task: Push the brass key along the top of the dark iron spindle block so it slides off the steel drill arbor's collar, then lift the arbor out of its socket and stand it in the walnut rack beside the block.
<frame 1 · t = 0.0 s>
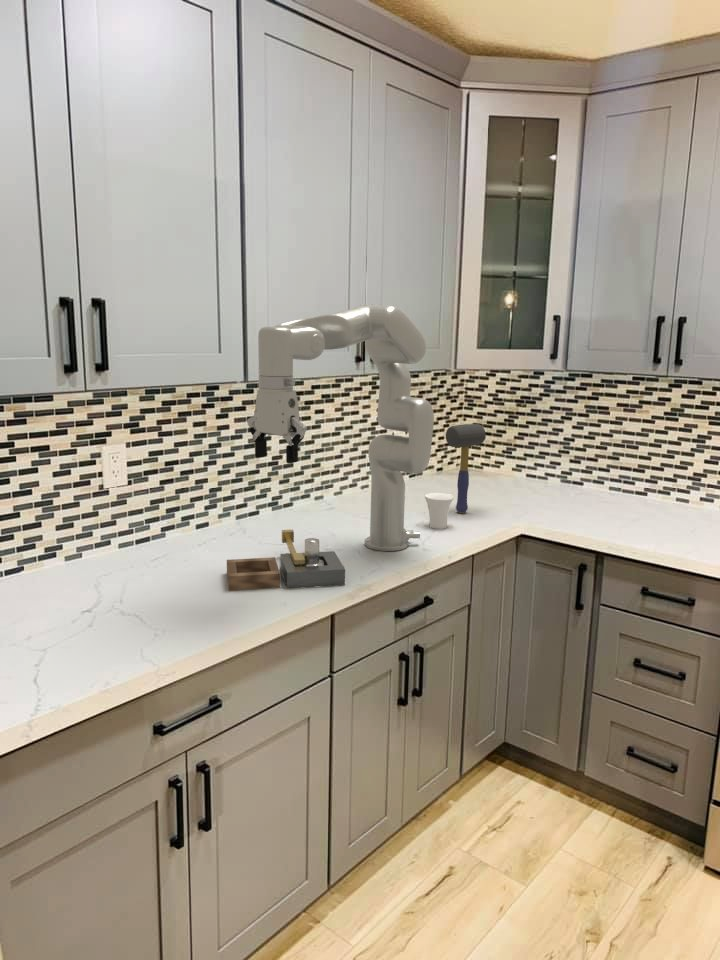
hand: (276, 459, 162), 31 cm above the worktop, tool pointing down, fingers open, 9 cm apart
spindle block: (311, 576, 177), on the worktop
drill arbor: (311, 558, 176), in the spindle block
rubber mallet: (461, 513, 240), on the worktop
cup: (438, 526, 224), on the worktop
walnut rack: (252, 580, 174), on the worktop
brass key: (292, 546, 182), point 6 cm above the worktop, slide at 0.0 cm
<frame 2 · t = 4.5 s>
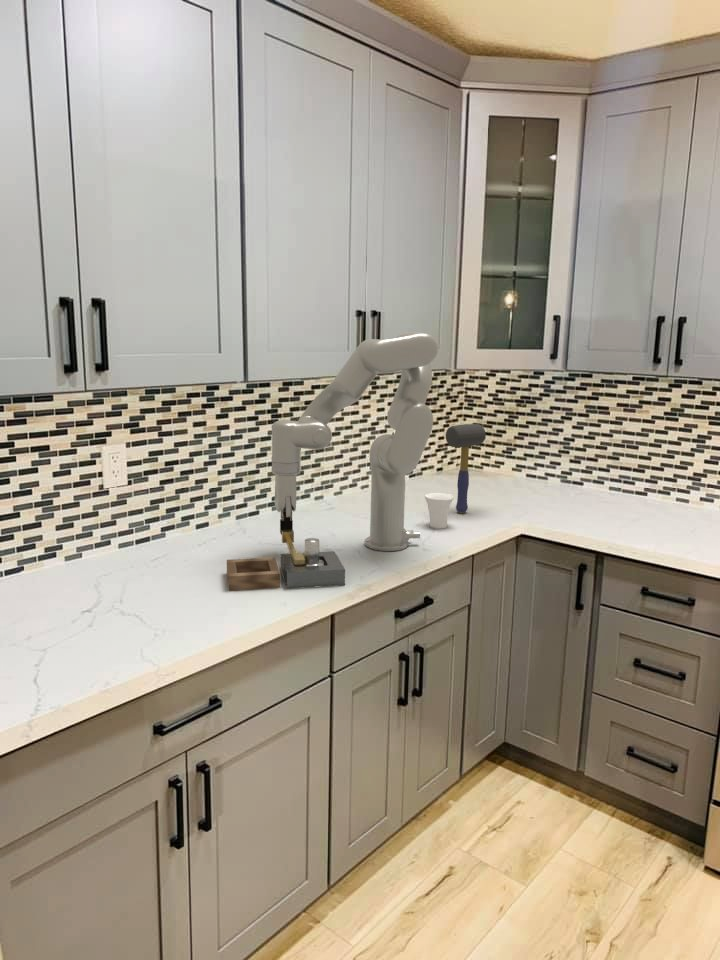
hand: (286, 533, 193), 6 cm above the worktop, tool pointing down, fingers closed
brass key: (292, 546, 182), point 6 cm above the worktop, slide at 0.1 cm, touching gripper
everything else where it was.
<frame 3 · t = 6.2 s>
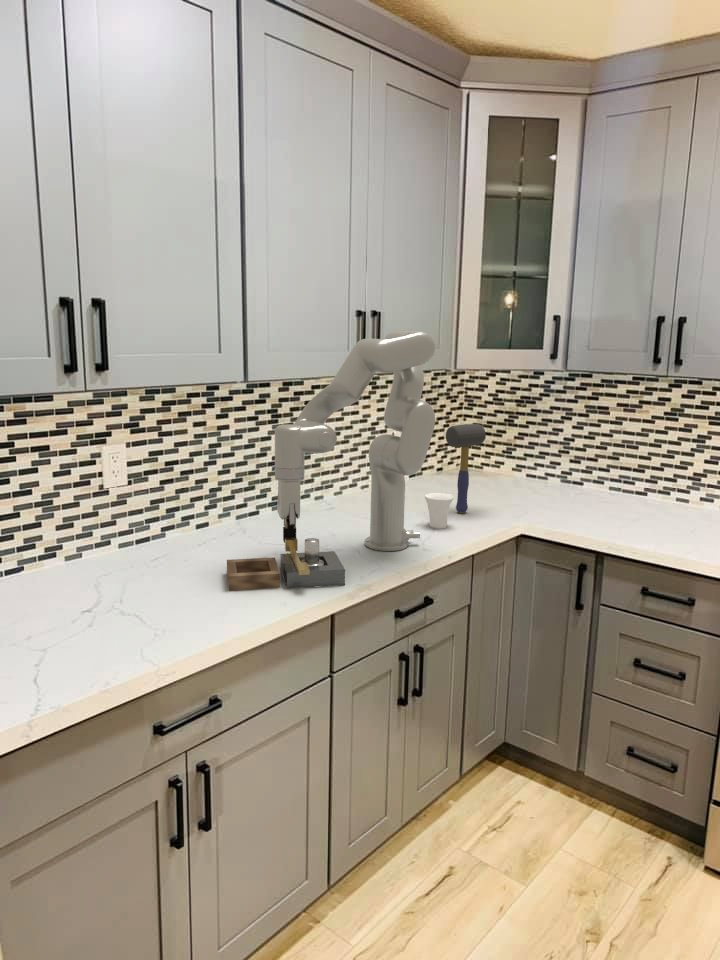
hand: (289, 541, 186), 6 cm above the worktop, tool pointing down, fingers closed
brass key: (296, 555, 175), point 6 cm above the worktop, slide at 7.3 cm, touching gripper
everything else where it was.
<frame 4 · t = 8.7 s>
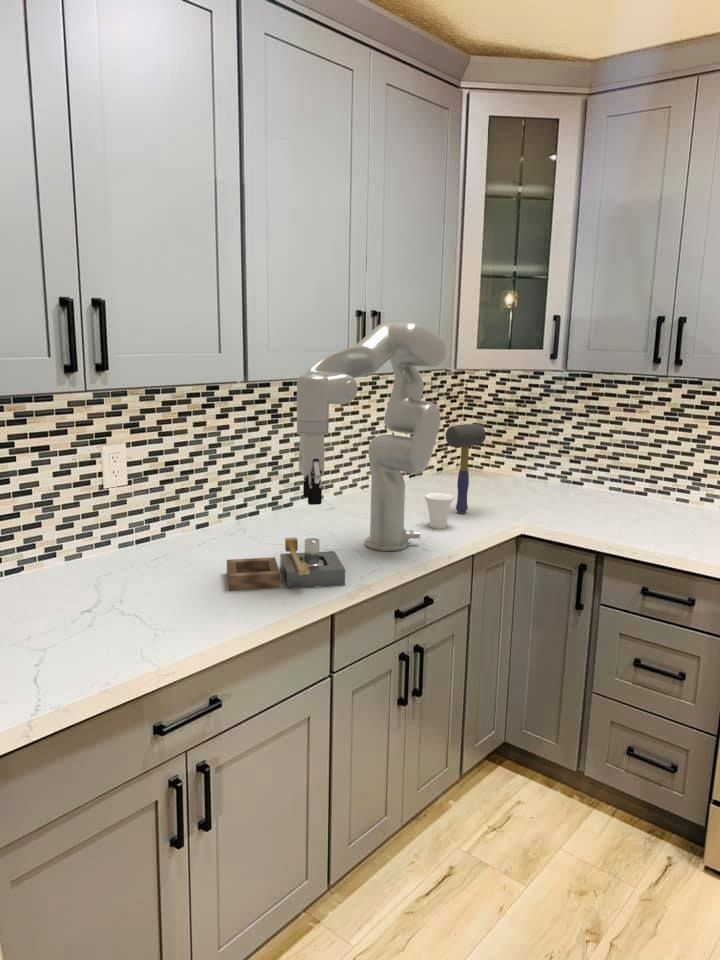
hand: (312, 499, 173), 20 cm above the worktop, tool pointing down, fingers open, 6 cm apart
brass key: (296, 555, 175), point 6 cm above the worktop, slide at 7.3 cm
everything else where it was.
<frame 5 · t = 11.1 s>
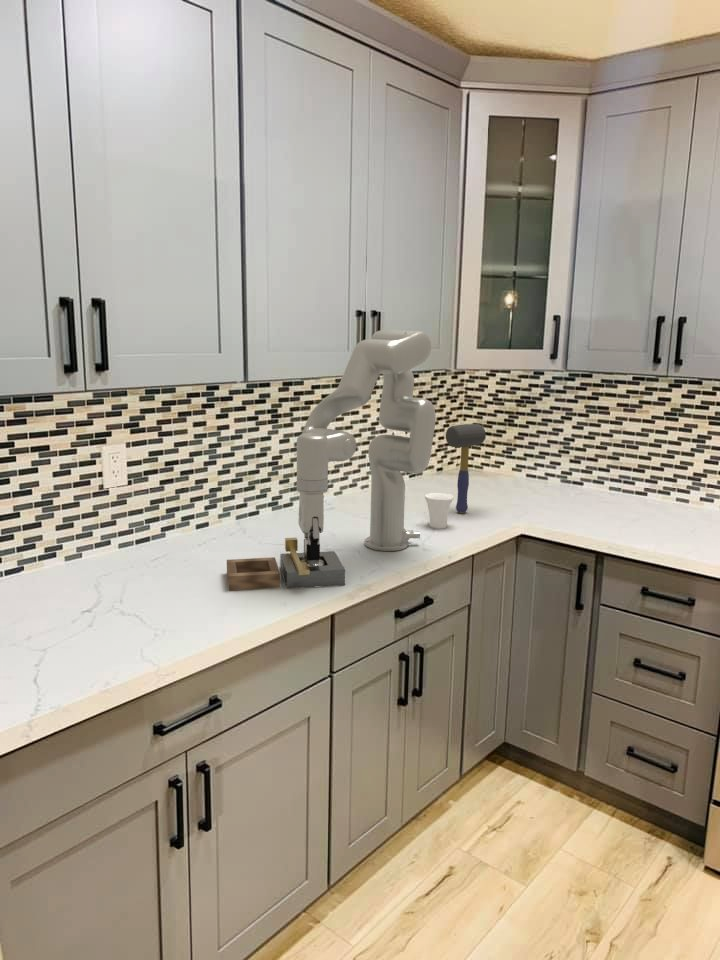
hand: (311, 556, 176), 5 cm above the worktop, tool pointing down, fingers closed on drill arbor, 3 cm apart
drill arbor: (311, 558, 176), in the spindle block, touching gripper
everything else where it was.
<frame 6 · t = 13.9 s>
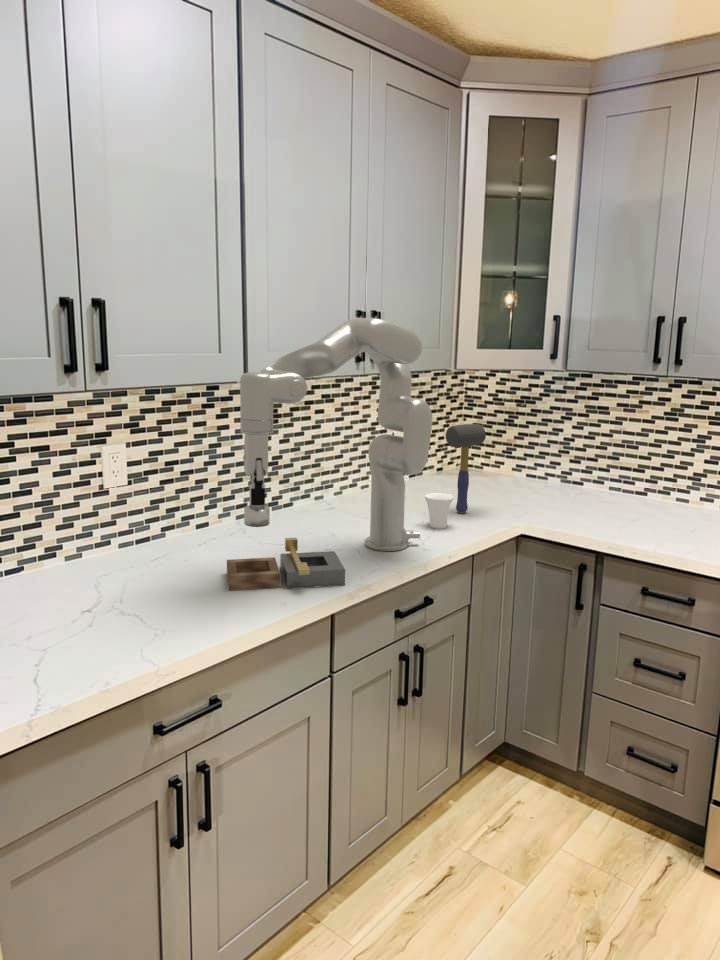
hand: (257, 501, 170), 20 cm above the worktop, tool pointing down, fingers closed on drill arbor, 3 cm apart
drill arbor: (257, 504, 170), point 19 cm above the worktop, touching gripper
everything else where it was.
when the fingers open (7 cm above the worktop, at t = 16.7 s): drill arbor drops 1 cm, resting in walnut rack.
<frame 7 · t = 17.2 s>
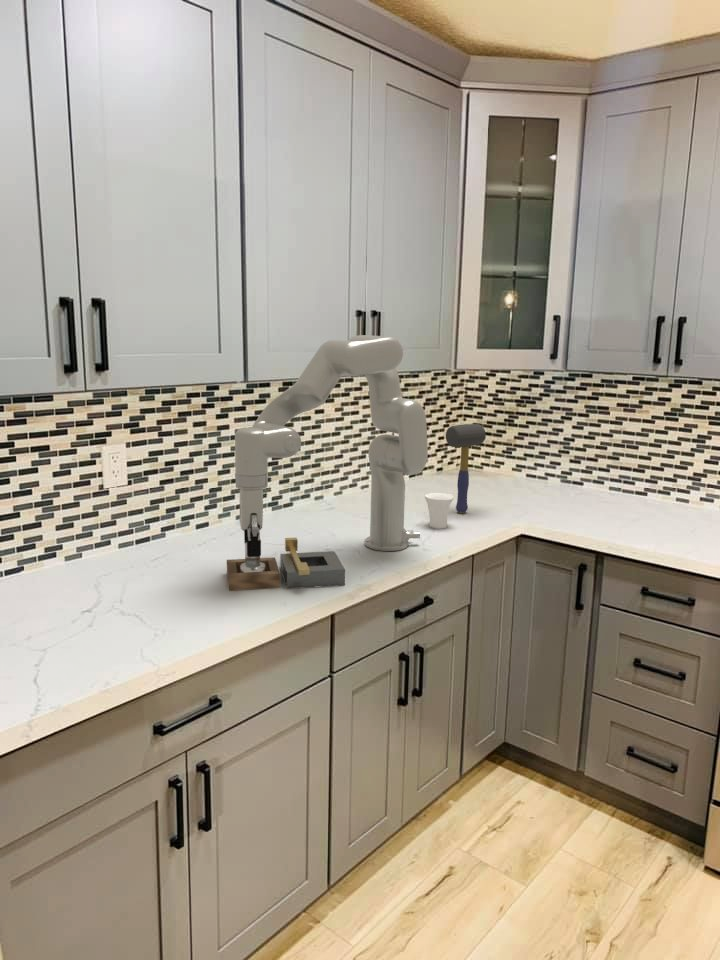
hand: (252, 549, 172), 8 cm above the worktop, tool pointing down, fingers open, 9 cm apart
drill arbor: (252, 561, 173), in the walnut rack
everything else where it was.
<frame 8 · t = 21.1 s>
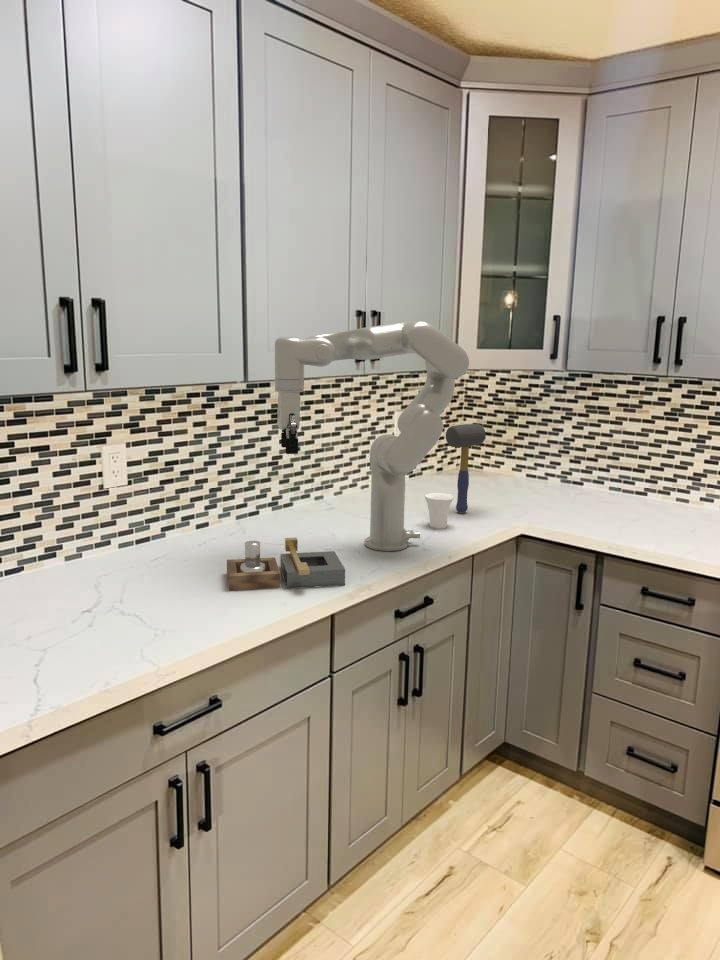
hand: (289, 450, 189), 28 cm above the worktop, tool pointing down, fingers open, 9 cm apart
nothing on the worktop moved.
at the end: brass key slide at 7.3 cm; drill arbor 0.1 cm off-centre on the walnut rack, point 4.7 cm above the walnut rack's base; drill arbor tilted 0° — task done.
